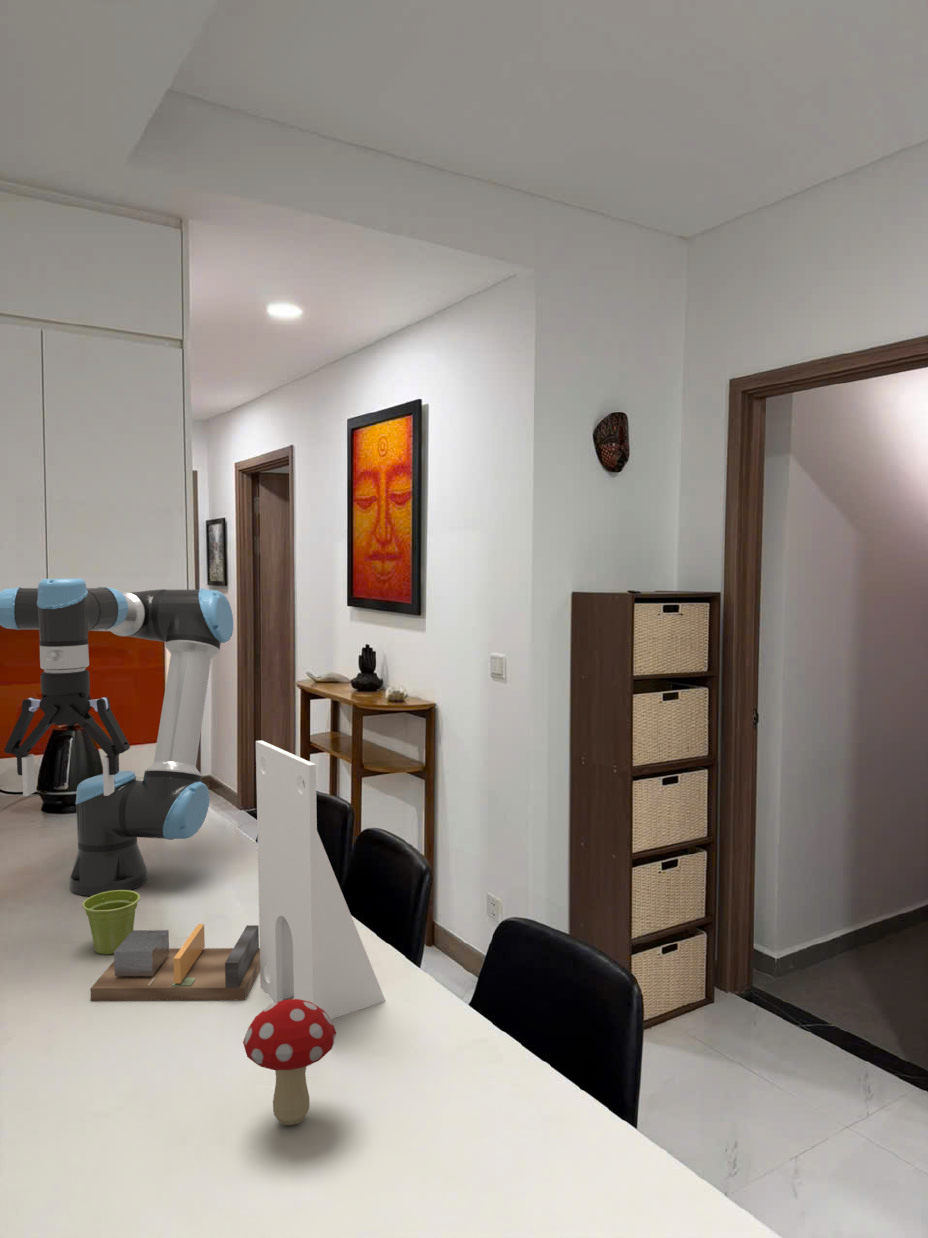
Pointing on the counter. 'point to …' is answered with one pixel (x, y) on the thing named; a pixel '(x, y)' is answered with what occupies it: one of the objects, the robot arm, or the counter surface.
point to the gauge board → (190, 976)
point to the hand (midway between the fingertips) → (69, 794)
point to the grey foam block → (141, 953)
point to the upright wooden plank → (188, 953)
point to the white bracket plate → (303, 897)
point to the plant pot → (111, 918)
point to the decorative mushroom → (290, 1051)
